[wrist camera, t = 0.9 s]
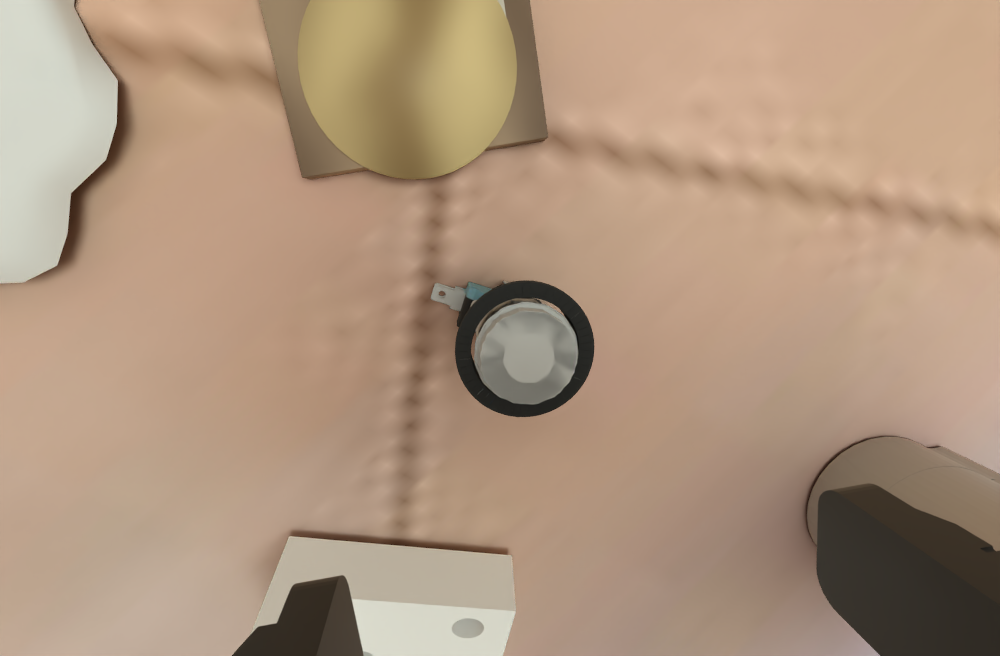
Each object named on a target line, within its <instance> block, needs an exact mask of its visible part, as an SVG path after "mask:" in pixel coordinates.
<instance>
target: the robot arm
mask: <svg viewBox="0 0 1000 656" xmlns="http://www.w3.org/2000/svg"><path fill="white" fill-rule="evenodd" d="M807 521H808V528H809V532H810V534H811V537H812V539H813V541H814V543H815V544H816V545H817V575H818V579H819V583H820V586H821V588H822V590H823V593H824V595H825V596H826V598H827V600H828V601H829V603H830V604H831V606H832V607H833V608H834V609H835V610H836V612H837V613H838V614H839V615H840V616H841V617H842V618H843V619H844V620H845V621H846V622H847V623H848V624H849V625H850V626H851V627H852V628H853V629H854V630H855V631H856V632H857V633H858V634H859V635H860V636H861V637H862V638H863V639H864V640H865V641H866V642H867V643H868V644H869V645H870V646H871V647H872V648H873V649H874V650H875V651H876V652H877V653H878V654H879V655H880V656H1000V474H999V473H997V472H995V471H993V470H990V469H988V468H986V467H984V466H982V465H980V464H978V463H976V462H974V461H972V460H970V459H968V458H965V457H963V456H961V455H959V454H957V453H955V452H953V451H951V450H949V449H947V448H945V447H937V448H927V447H925V446H923V445H921V444H919V443H917V442H915V441H913V440H909V439H905V438H901V437H879V438H874V439H869V440H866V441H864V442H861V443H859V444H856V445H854V446H852V447H851V448H849V449H847V450H846V451H844V452H843V453H841V454H840V455H839V456H838V457H836V458H835V459H834V460H833V461H832V462H831V463H830V464H829V465H828V466H827V467H826V469H825V470H824V471H823V472H822V474H821V475H820V476H819V478H818V480H817V482H816V484H815V485H814V487H813V489H812V492H811V495H810V499H809V502H808V510H807ZM232 656H364V655H363V649H362V645H361V640H360V636H359V631H358V626H357V622H356V617H355V612H354V608H353V603H352V598H351V594H350V589H349V585H348V582H347V579H346V578H345V576H343V575H341V576H335V577H329V578H324V579H318V580H312V581H307V582H301V583H296V584H294V585H293V586H292V588H291V589H290V592H289V594H288V597H287V599H286V601H285V604H284V606H283V609H282V611H281V614H280V616H279V619H278V621H277V623H275V624H269V625H264V626H259V627H257V628H256V629H255V630H254V632H253V633H252V634H251V635H250V636H249V637H248V638H247V639H246V640H245V642H244V643H243V644H242V645H241V646H240V647H239V648H238V649H237V651H236V652H235V653H234V654H233V655H232Z"/></svg>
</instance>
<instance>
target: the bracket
mask: <svg viewBox="0 0 1000 656" xmlns="http://www.w3.org/2000/svg"><path fill="white" fill-rule="evenodd" d="M341 575H343V576H345V578H346V579H347V582H348V585H349V589H350V594H351V598H352V603H353V608H354V612H355V617H356V622H357V626H358V631H359V636H360V640H361V645H362V649H363V655H364V656H503V653H504V650H505V647H506V643H507V640H508V637H509V633H510V630H511V626H512V623H513V620H514V616H515V613H516V604H515V590H514V576H513V563H512V555H502V554H490V553H478V552H467V551H455V550H444V549H432V548H420V547H409V546H397V545H386V544H374V543H363V542H351V541H339V540H328V539H316V538H305V537H293V536H289V538H288V540H287V543H286V545H285V548H284V551H283V553H282V556H281V558H280V561H279V563H278V566H277V568H276V571H275V573H274V576H273V578H272V581H271V584H270V586H269V589H268V591H267V594H266V596H265V599H264V601H263V604H262V606H261V609H260V611H259V614H258V617H257V619H256V622H255V624H254V627H253V629H252V632H251V634H252V633H253V632H254V630H255V629H256V628H257V627H259V626H264V625H269V624H275V623H277V621H278V619H279V616H280V614H281V611H282V609H283V606H284V604H285V601H286V599H287V597H288V594H289V592H290V589H291V588H292V586H293V585H294V584H296V583H301V582H307V581H312V580H318V579H324V578H329V577H335V576H341ZM251 634H250V635H251Z"/></svg>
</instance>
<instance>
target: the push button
mask: <svg viewBox="0 0 1000 656" xmlns="http://www.w3.org/2000/svg"><path fill="white" fill-rule="evenodd" d="M503 283H504V284H503V285H500V286H498V287H495V288H493V289H491V288H488V287H485V286H481V285H478V284H475V283H472V282H468V285H467V288H466V289H464V288H461V287H458V286H456V287H455V288H452V287H449V286H446V285H442V284H439V283H435V285H434V288H433V292H432V295H431V299H432V300H434V301H437V302H441V303H444V304H447V305H450V309H453V310H456V311H459V317H458V320H457V326H458V327H459V329H458V333H457V337H456V345H455V356H456V364H457V368H458V372H459V375H460V377H461V379H462V381H463V383H464V385H465V387H466V388H467V389H468V391H469V392H470V393H471V394H472V396H473V397H474V398H475V399H477V400H478V401H479V402H480V403H481V404H483V405H484V406H486V407H487V408H489V409H491V410H493V411H495V412H498V413H501V414H504V415H508V416H515V417H530V416H537V415H541V414H544V413H547V412H550V411H552V410H554V409H556V408H558V407H560V406H561V405H563V404H564V403H566V402H567V401H568V400H570V399H571V398H572V397H573V396H574V395H575V394H576V393H577V392H578V390H579V389H580V388H581V386H582V385H583V383H584V382H585V380H586V378H587V376H588V374H589V371H590V369H591V366H592V362H593V356H594V338H593V332H592V329H591V326H590V323H589V321H588V319H587V317H586V315H585V313H584V312H583V310H582V309H581V307H580V306H579V305H578V304H577V303H576V302H575V301H574V300H573V299H572V298H571V297H570V296H568V295H567V294H566V293H564V292H563V291H561V290H559V289H558V288H556V287H554V286H551V285H549V284H545V283H542V282H537V281H515V282H507V281H503ZM440 291H444V292H445V293H446V294H445V295H444V296H441V295H439V292H440ZM534 298H538V299H542V300H545V301H548V302H550V303H552V304H554V305H555V306H557V307H558V308H560V310H561V311H562V312H563V314H564V316H565V317H564V316H563V315H562V314H560V313H559V312H557V311H556V310H554V309H553V308H551V307H550V306H547V305H545V304H542V303H541V302H540V301H539V300H537V299H534ZM474 333H476V337H477V339H476V342H475V356H474V361H475V363H474V361H473V358H472V355H471V344H472V339H473V336H474Z"/></svg>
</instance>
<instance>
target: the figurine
mask: <svg viewBox="0 0 1000 656" xmlns="http://www.w3.org/2000/svg"><path fill="white" fill-rule="evenodd" d="M74 2H75V0H0V283H21V282H25V281H27V280H29V279H31V278H33V277H35V276H37V275H39V274H41V273H43V272H45V271H47V270H49V269H51V268H53V267H55V266H57V264H58V261H59V258H60V255H61V252H62V249H63V246H64V243H65V240H66V237H67V234H68V223H69V211H70V199H71V193H72V192H73V191H74V190H75V189H76V188H77V187H78V186H79V185H80V184H81V183H82V182H83V181H84V180H85V179H87V178H88V177H89V176H90V175H91V174H92V173H93V172H94V171H95V170H96V169H97V168H98V167H99V166H100V165H101V164H102V163H103V162H104V161H106V159H107V155H108V152H109V148H110V145H111V142H112V138H113V135H114V132H115V128H116V125H117V95H118V80H117V79H116V77H115V76H114V74H113V73H112V72H111V70H110V69H109V67H108V66H107V64H106V63H105V62H104V60H103V59H102V57H101V56H100V54H99V53H98V52H97V50H96V49H95V47H94V46H93V44H92V43H91V41H90V39H89V36H88V34H87V32H86V30H85V28H84V26H83V24H82V22H81V20H80V18H79V16H78V14H77V12H76V10H75V8H74Z"/></svg>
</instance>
